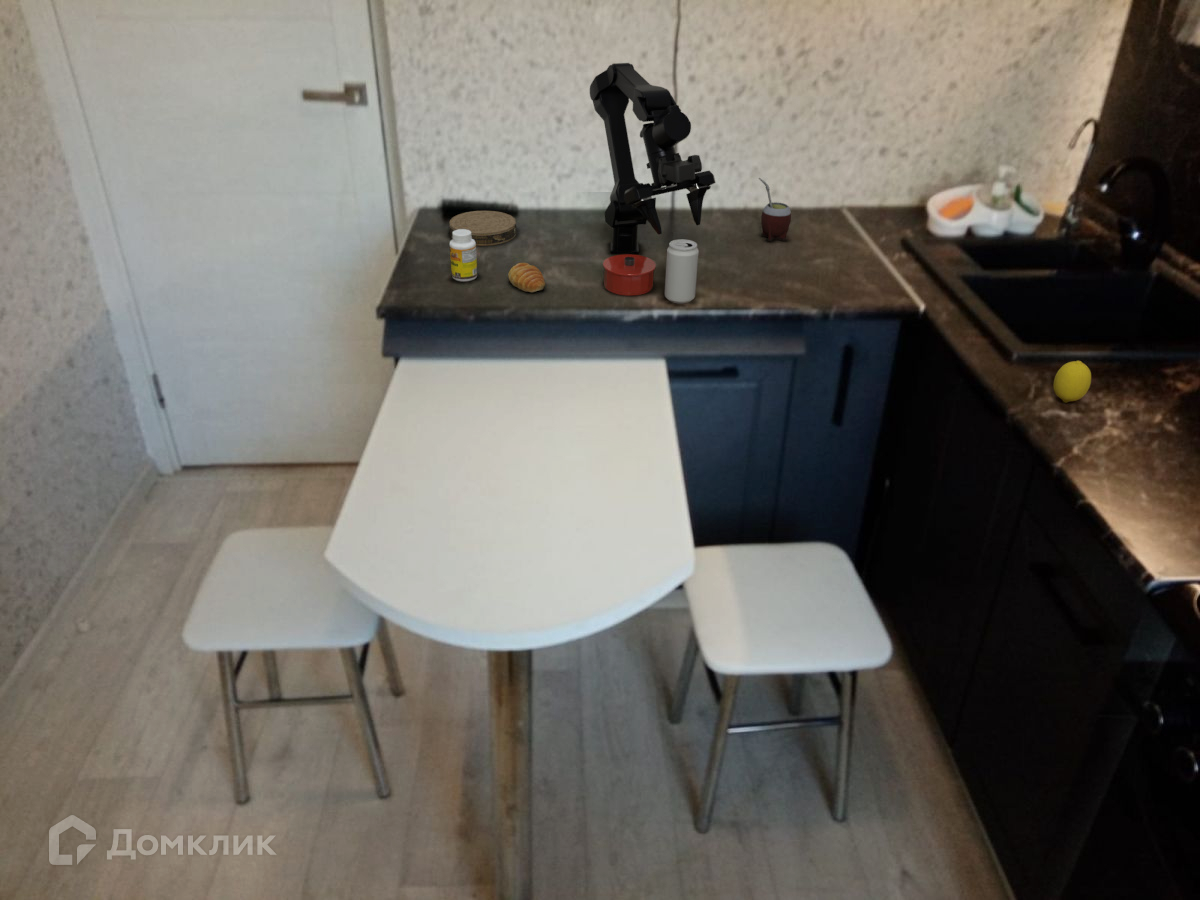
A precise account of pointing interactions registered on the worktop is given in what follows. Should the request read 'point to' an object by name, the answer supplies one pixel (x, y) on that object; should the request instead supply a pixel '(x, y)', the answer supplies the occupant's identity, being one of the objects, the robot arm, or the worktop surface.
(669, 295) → the beverage can
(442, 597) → the worktop surface
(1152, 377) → the worktop surface
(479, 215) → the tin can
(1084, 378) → the lemon
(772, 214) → the mate gourd
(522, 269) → the pastry
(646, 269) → the pot lid
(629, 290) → the pot
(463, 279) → the supplement bottle
